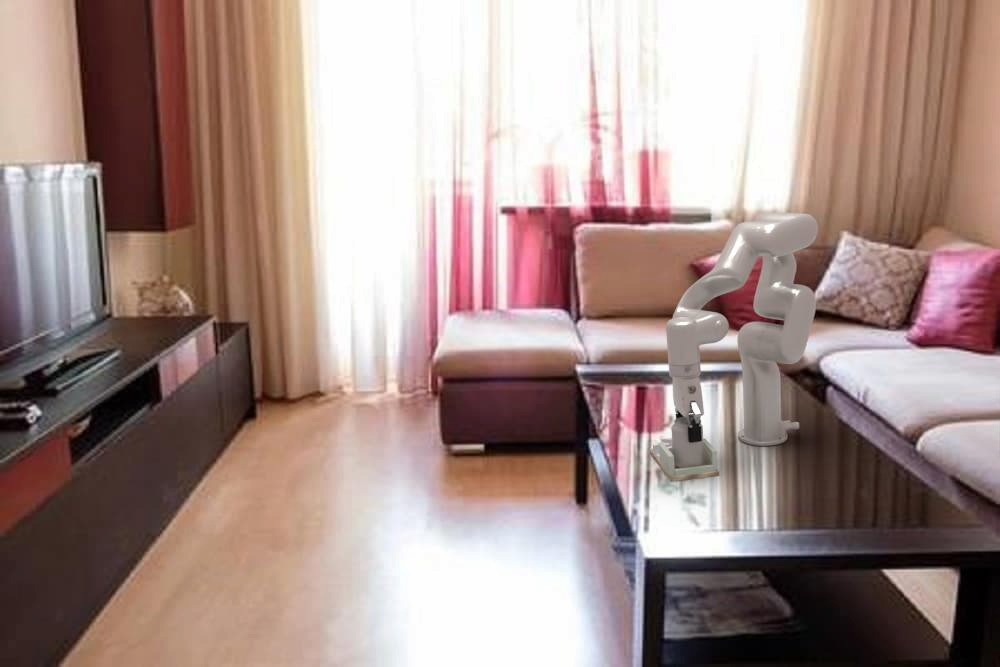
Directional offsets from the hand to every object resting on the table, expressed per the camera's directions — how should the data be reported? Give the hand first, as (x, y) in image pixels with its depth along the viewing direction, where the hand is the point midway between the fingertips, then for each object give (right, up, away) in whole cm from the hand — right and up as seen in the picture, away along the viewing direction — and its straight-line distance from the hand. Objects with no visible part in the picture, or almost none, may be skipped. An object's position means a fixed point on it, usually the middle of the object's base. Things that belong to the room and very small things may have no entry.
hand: (689, 434), depth 218 cm
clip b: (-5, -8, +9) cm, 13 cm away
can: (0, -8, +2) cm, 8 cm away
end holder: (0, -8, +1) cm, 8 cm away
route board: (0, -8, +6) cm, 10 cm away
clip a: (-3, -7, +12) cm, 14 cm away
